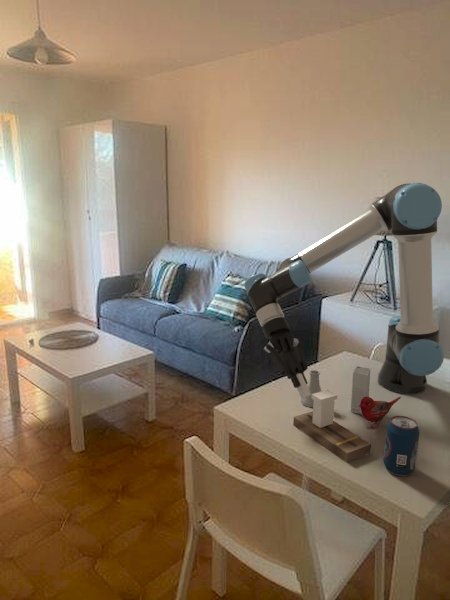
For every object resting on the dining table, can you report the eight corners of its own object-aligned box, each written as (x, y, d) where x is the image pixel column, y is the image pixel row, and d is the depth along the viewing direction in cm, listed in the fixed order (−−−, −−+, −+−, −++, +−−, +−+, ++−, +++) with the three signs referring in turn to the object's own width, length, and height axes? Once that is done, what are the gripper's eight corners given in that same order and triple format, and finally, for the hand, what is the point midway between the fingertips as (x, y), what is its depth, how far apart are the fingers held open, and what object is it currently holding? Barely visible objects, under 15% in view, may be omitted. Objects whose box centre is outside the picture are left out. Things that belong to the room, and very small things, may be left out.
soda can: (382, 457, 110) (387, 412, 107) (413, 463, 108) (418, 416, 105) (383, 474, 104) (388, 426, 101) (416, 480, 102) (422, 431, 99)
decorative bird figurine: (352, 431, 122) (355, 397, 120) (394, 414, 132) (398, 382, 129) (360, 436, 120) (364, 401, 117) (403, 418, 129) (407, 385, 127)
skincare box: (365, 415, 131) (369, 375, 128) (349, 412, 133) (352, 373, 130) (368, 406, 136) (372, 368, 133) (353, 403, 138) (356, 365, 135)
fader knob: (309, 422, 120) (311, 394, 119) (325, 417, 123) (327, 389, 121) (319, 428, 117) (321, 399, 116) (335, 423, 120) (337, 394, 118)
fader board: (293, 425, 125) (293, 416, 124) (315, 418, 129) (316, 409, 128) (346, 462, 108) (347, 452, 108) (370, 453, 112) (371, 443, 112)
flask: (325, 409, 134) (327, 377, 132) (300, 407, 135) (301, 375, 133) (324, 398, 141) (327, 368, 139) (301, 396, 142) (302, 366, 140)
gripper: (284, 325, 140) (317, 397, 130) (249, 331, 134) (280, 407, 124) (296, 313, 134) (332, 387, 125) (260, 318, 128) (294, 397, 118)
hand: (306, 397), depth 124 cm, fingers closed
